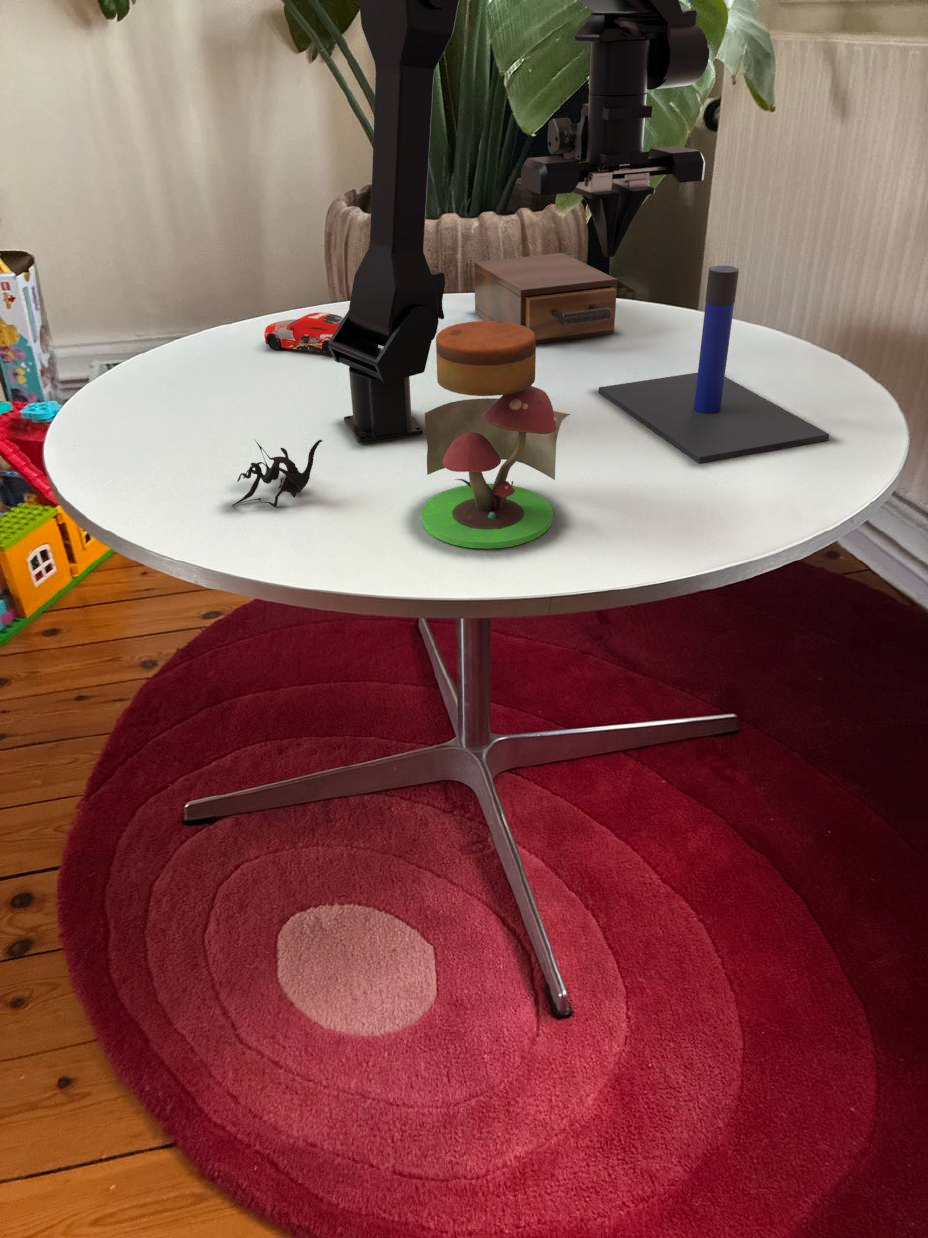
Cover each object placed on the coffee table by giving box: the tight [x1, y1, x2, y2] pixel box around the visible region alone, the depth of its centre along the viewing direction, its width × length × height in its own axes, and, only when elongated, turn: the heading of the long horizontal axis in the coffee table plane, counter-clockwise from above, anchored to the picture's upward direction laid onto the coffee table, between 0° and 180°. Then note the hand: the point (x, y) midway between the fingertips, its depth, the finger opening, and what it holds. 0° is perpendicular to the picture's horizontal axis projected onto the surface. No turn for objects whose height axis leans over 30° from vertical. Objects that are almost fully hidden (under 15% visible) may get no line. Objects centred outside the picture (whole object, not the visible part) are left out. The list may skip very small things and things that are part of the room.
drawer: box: [525, 287, 618, 340], centre depth 120 cm, size 18×11×5 cm, turn 20°
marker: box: [694, 265, 740, 414], centre depth 93 cm, size 3×3×14 cm
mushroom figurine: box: [421, 320, 571, 549], centre depth 75 cm, size 12×13×15 cm
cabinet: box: [473, 252, 618, 345], centre depth 123 cm, size 16×13×7 cm
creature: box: [231, 438, 323, 508], centre depth 82 cm, size 8×5×8 cm
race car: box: [263, 312, 345, 358], centre depth 117 cm, size 13×5×4 cm, turn 66°
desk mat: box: [597, 372, 830, 464], centre depth 97 cm, size 20×14×1 cm
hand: (608, 256), depth 105 cm, fingers closed
